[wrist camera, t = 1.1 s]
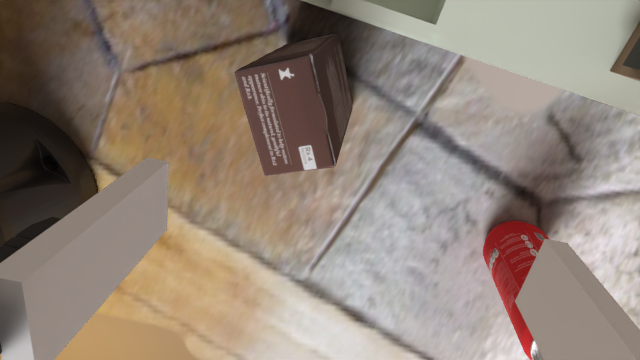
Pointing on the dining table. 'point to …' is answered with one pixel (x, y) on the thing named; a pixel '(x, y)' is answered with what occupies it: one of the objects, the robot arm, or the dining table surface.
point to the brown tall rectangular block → (629, 57)
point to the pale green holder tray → (521, 37)
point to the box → (297, 105)
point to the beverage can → (514, 270)
